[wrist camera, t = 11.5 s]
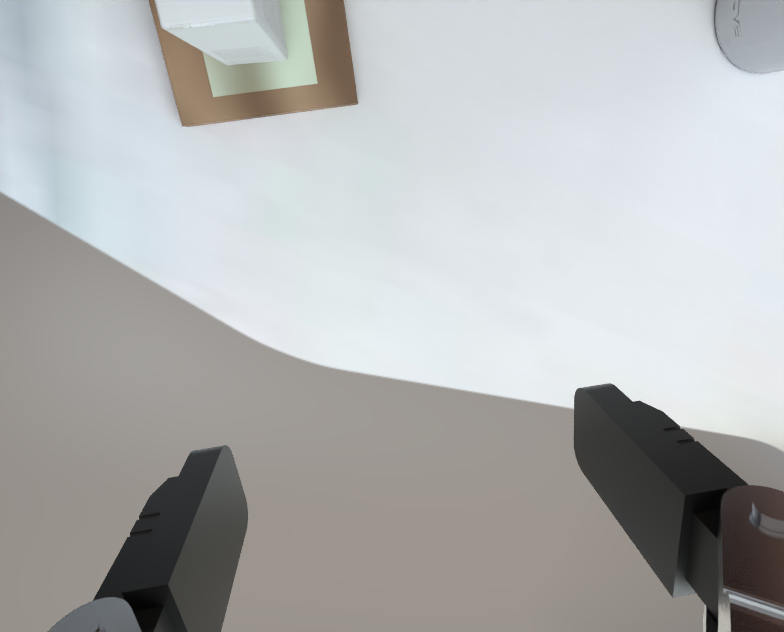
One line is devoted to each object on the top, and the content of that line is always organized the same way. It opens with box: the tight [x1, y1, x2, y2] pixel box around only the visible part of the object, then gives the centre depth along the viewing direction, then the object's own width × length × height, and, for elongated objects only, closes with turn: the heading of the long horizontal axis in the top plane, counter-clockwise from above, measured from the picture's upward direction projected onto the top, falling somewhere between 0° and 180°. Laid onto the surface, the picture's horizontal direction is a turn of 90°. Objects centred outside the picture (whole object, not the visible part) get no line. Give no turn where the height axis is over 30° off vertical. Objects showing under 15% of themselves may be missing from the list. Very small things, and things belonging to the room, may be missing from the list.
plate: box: [149, 0, 358, 127], centre depth 31 cm, size 12×12×2 cm
